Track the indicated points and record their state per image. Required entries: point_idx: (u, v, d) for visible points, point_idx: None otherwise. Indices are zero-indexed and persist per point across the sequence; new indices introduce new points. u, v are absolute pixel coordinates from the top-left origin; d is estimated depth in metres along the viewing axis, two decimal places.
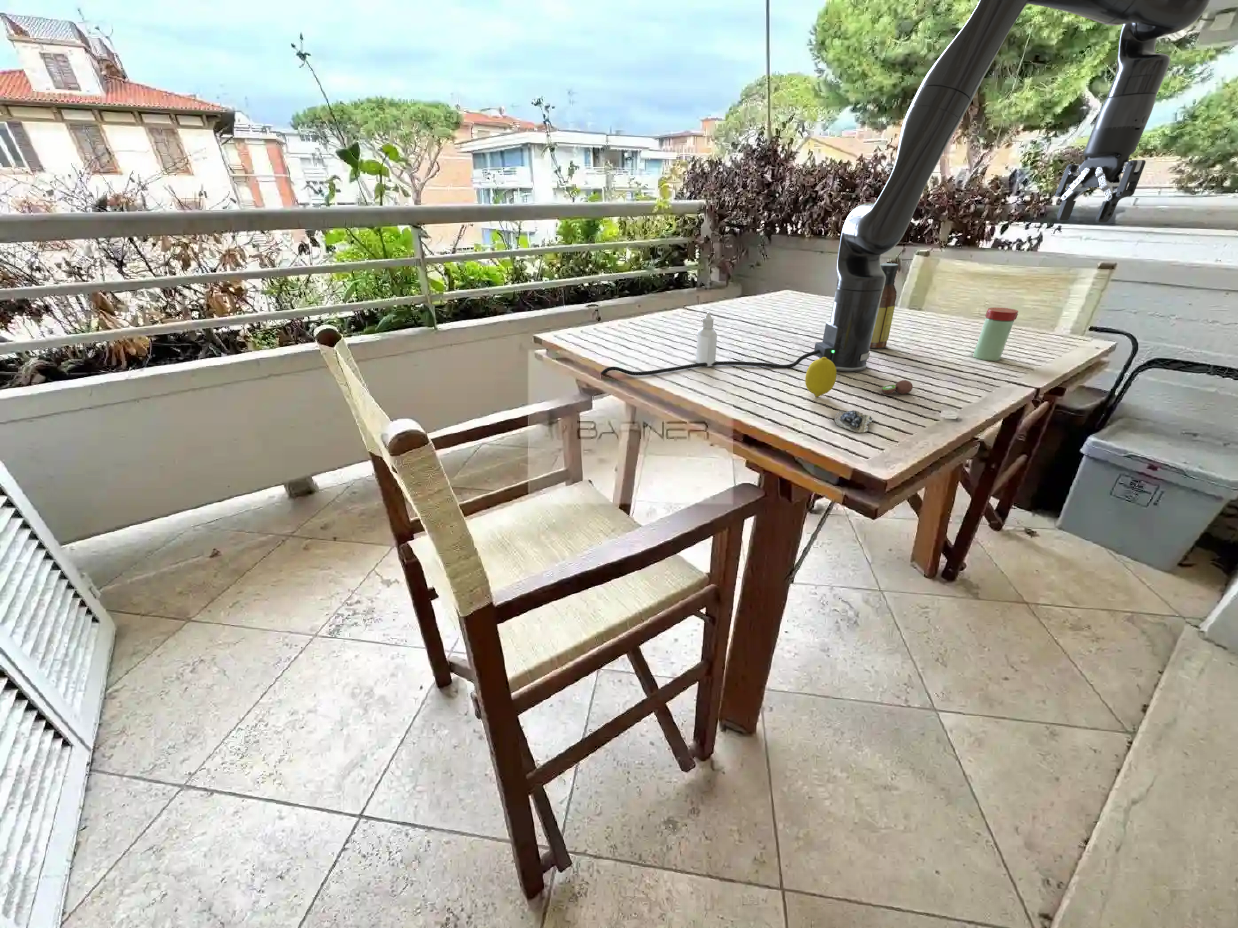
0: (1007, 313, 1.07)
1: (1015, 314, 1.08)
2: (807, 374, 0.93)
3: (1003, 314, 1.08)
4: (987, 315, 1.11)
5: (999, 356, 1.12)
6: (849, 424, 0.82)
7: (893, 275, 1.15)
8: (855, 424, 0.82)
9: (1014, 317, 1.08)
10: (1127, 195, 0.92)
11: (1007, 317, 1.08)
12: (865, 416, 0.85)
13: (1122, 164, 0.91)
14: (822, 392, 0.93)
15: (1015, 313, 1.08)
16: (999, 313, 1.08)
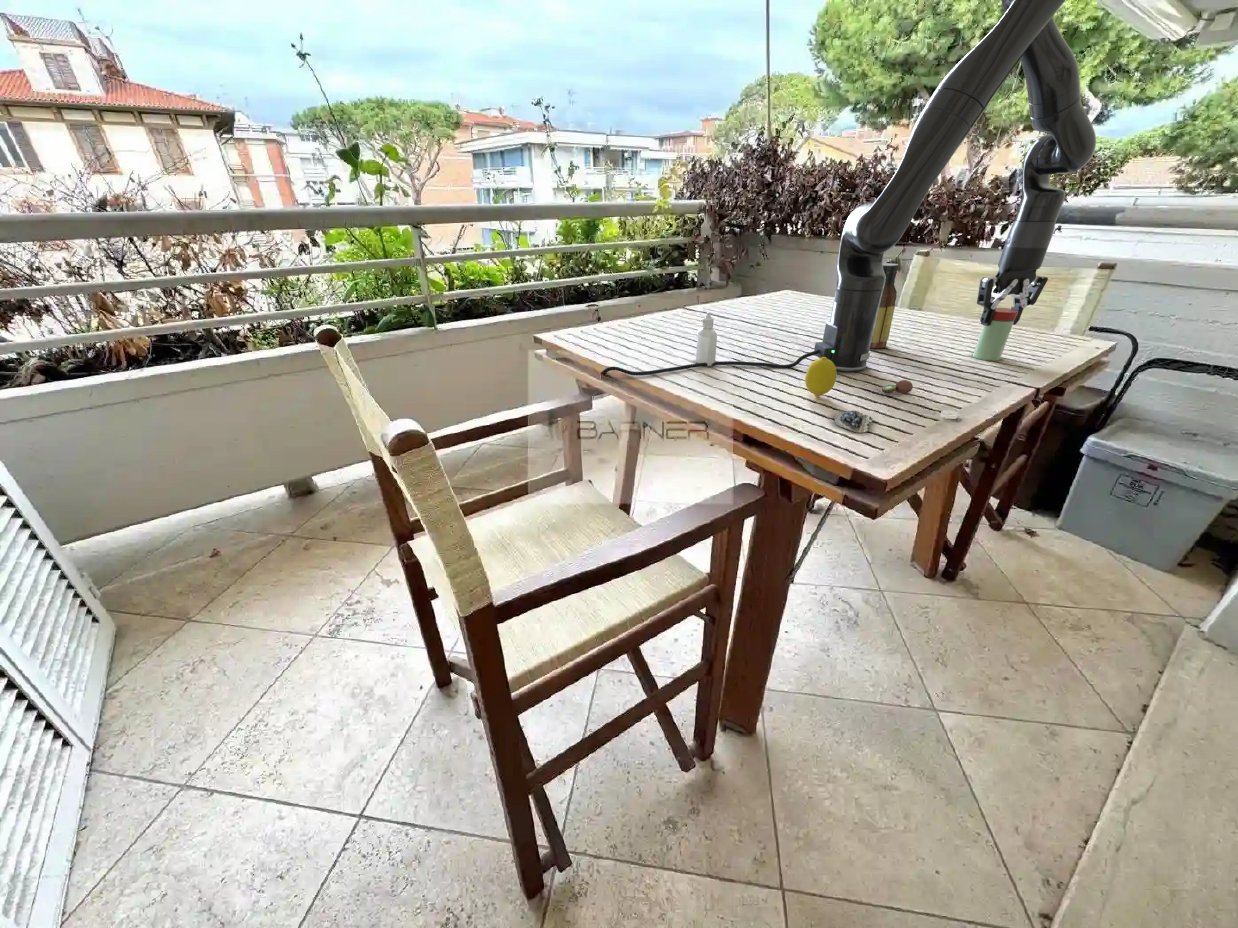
0: (1007, 313, 1.07)
1: (1015, 314, 1.08)
2: (807, 374, 0.93)
3: (1003, 314, 1.08)
4: None
5: (999, 356, 1.12)
6: (849, 424, 0.82)
7: (893, 275, 1.15)
8: (855, 424, 0.82)
9: (1014, 317, 1.08)
10: None
11: (1007, 317, 1.08)
12: (865, 416, 0.85)
13: (1035, 276, 1.06)
14: (822, 392, 0.93)
15: (1015, 313, 1.08)
16: (999, 313, 1.08)
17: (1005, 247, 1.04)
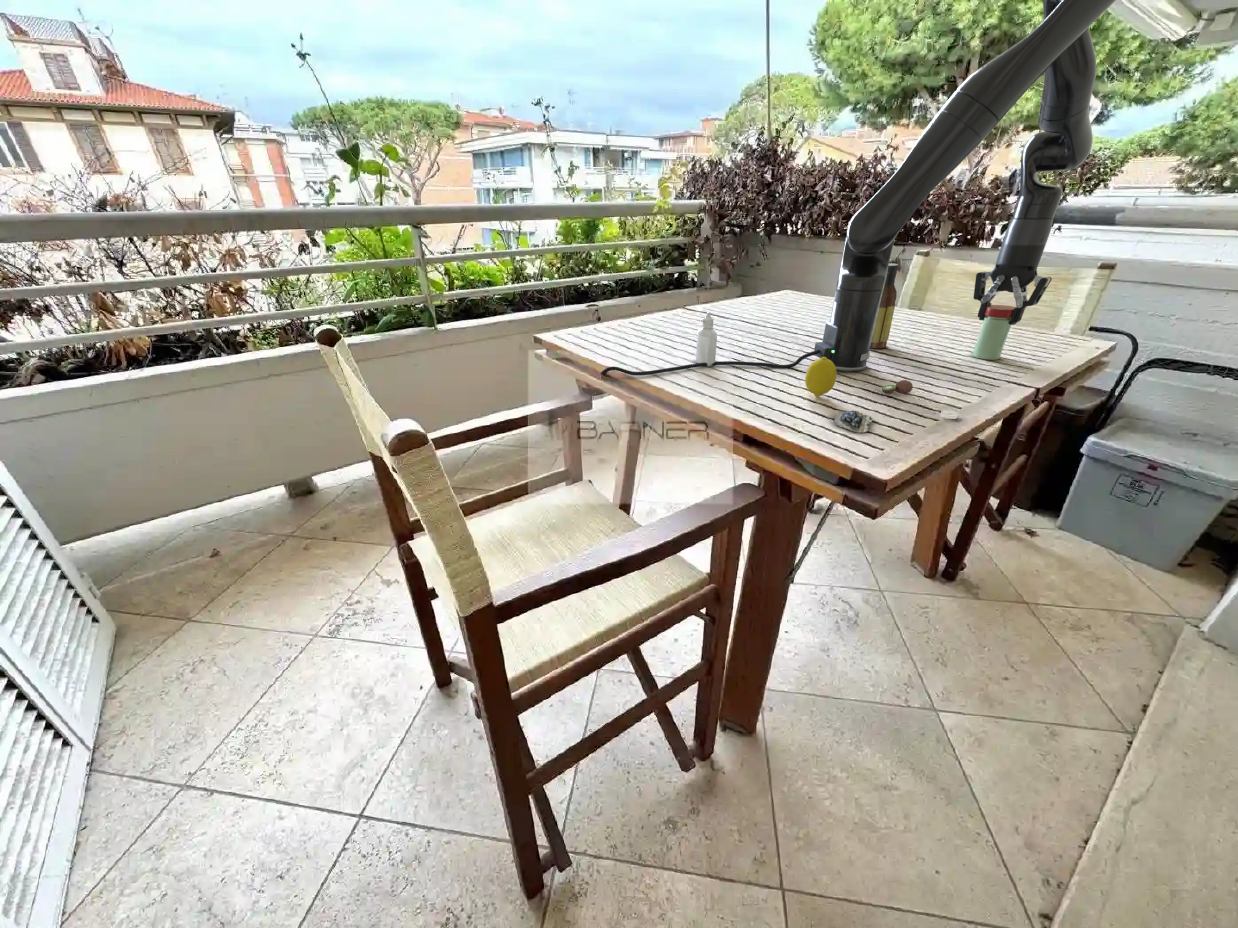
0: None
1: None
2: (807, 374, 0.93)
3: None
4: None
5: (999, 355, 1.13)
6: (849, 424, 0.82)
7: (893, 275, 1.15)
8: (855, 424, 0.82)
9: None
10: None
11: None
12: (865, 416, 0.85)
13: None
14: (822, 392, 0.93)
15: None
16: None
17: (1040, 246, 1.01)
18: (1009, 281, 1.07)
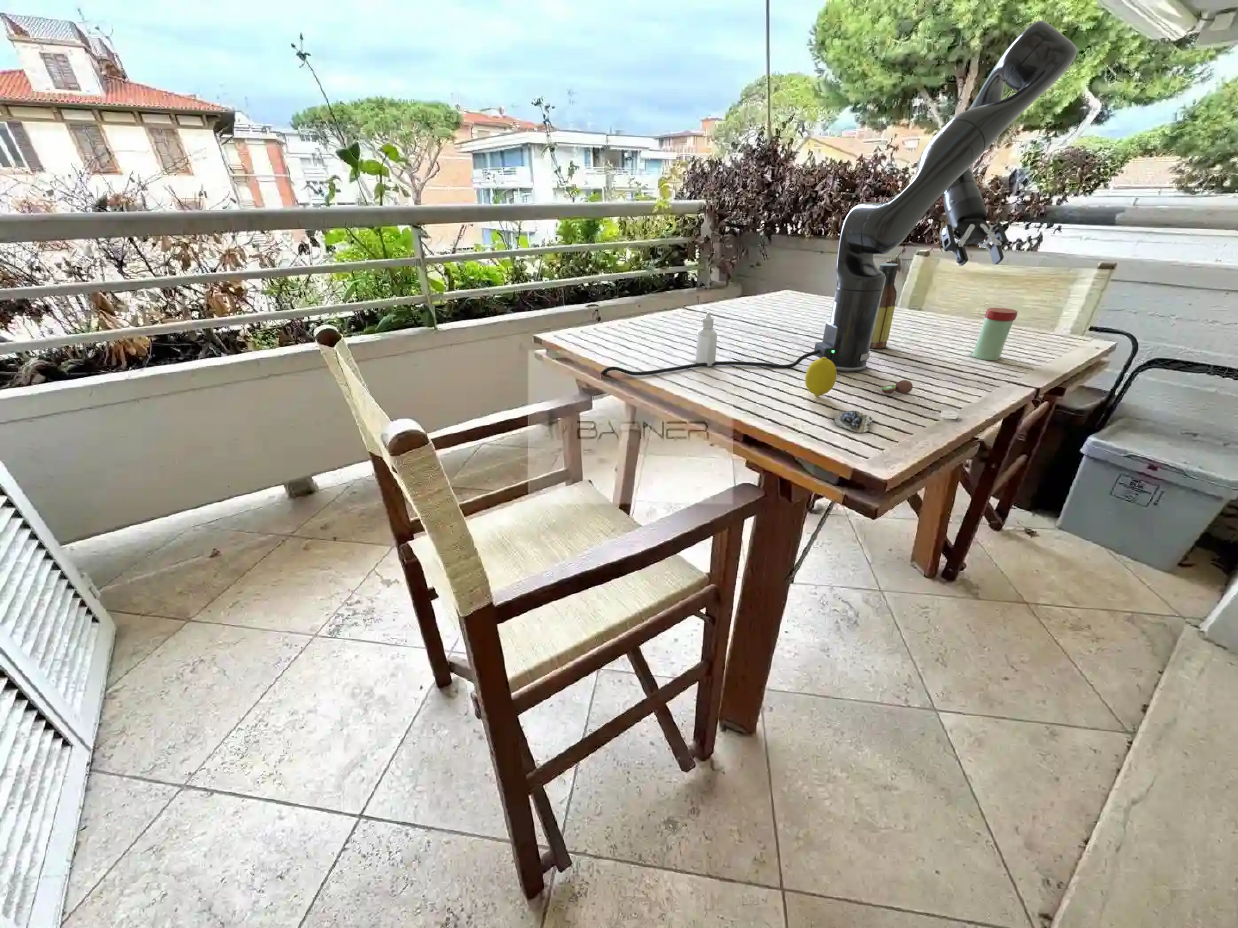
0: None
1: None
2: (807, 374, 0.93)
3: None
4: (1015, 317, 1.09)
5: (999, 355, 1.13)
6: (849, 424, 0.82)
7: (893, 275, 1.15)
8: (855, 424, 0.82)
9: None
10: (949, 246, 1.16)
11: None
12: (865, 416, 0.85)
13: None
14: (822, 392, 0.93)
15: None
16: None
17: None
18: (976, 230, 1.17)
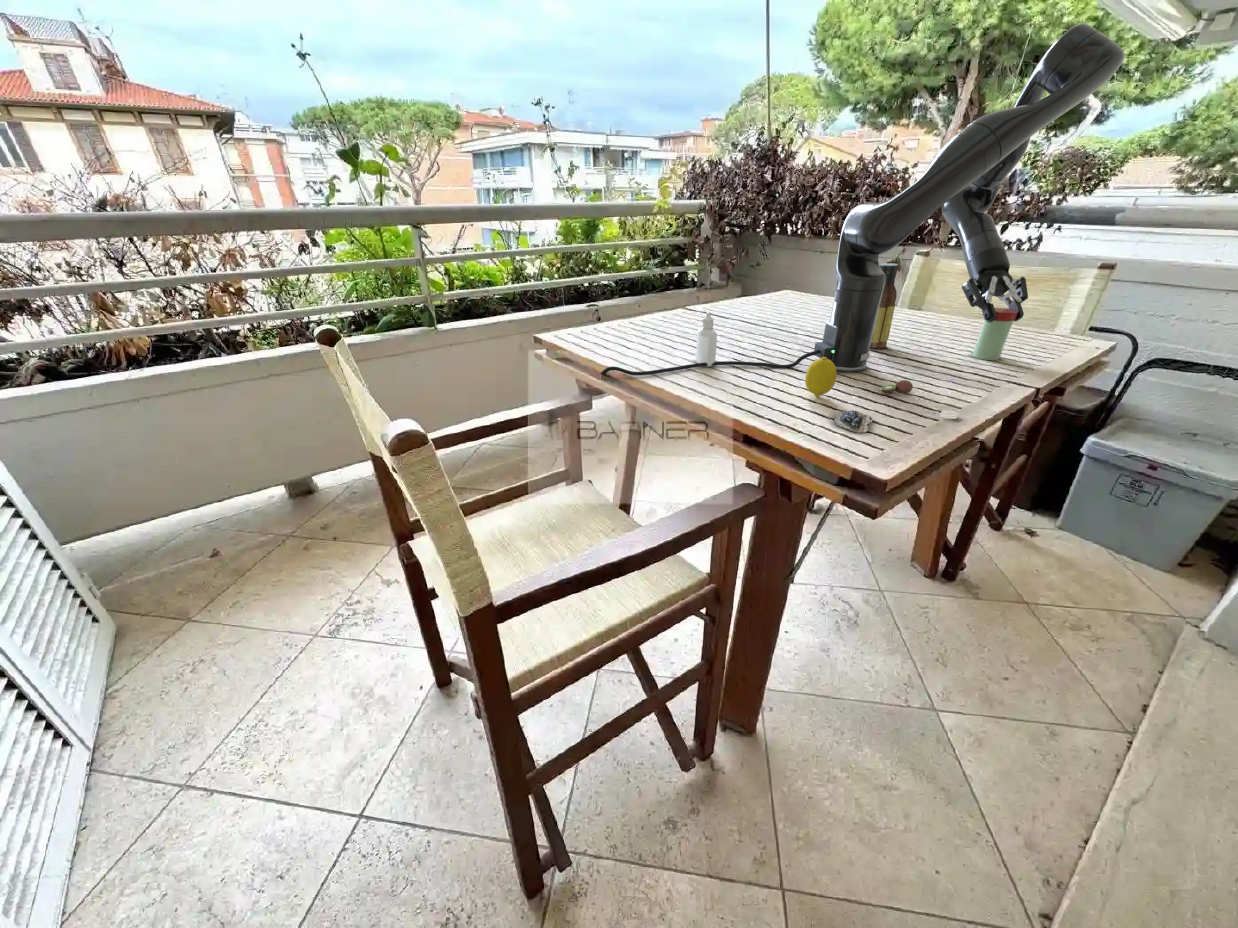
0: None
1: None
2: (807, 374, 0.93)
3: None
4: (1015, 317, 1.09)
5: (999, 355, 1.13)
6: (849, 424, 0.82)
7: (893, 275, 1.15)
8: (855, 424, 0.82)
9: None
10: (977, 302, 1.10)
11: None
12: (865, 416, 0.85)
13: None
14: (822, 392, 0.93)
15: None
16: None
17: None
18: (998, 282, 1.11)
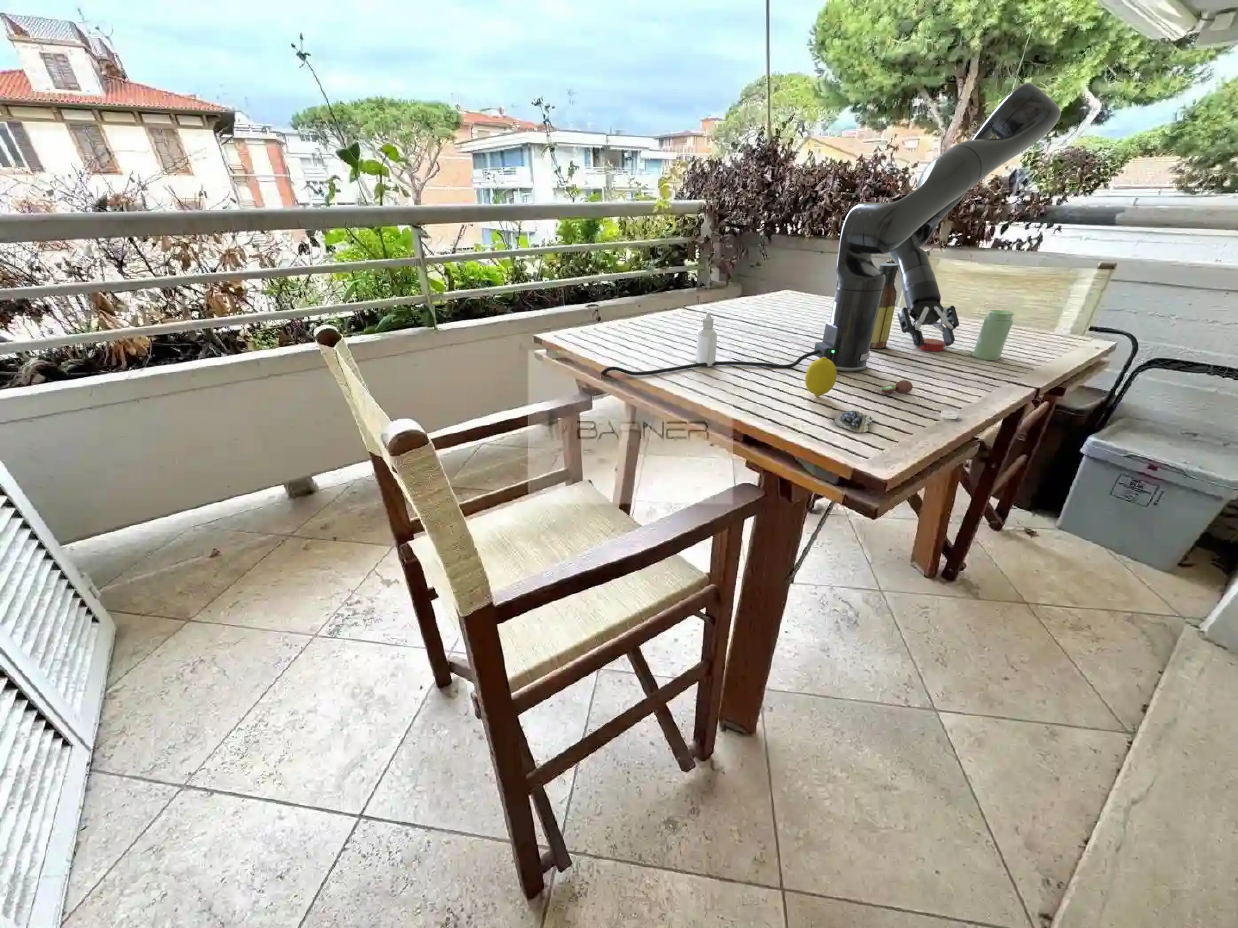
0: None
1: None
2: (807, 374, 0.93)
3: None
4: (943, 347, 1.21)
5: (999, 355, 1.13)
6: (849, 424, 0.82)
7: (893, 275, 1.15)
8: (855, 424, 0.82)
9: None
10: (907, 329, 1.21)
11: None
12: (865, 416, 0.85)
13: None
14: (822, 392, 0.93)
15: None
16: None
17: None
18: (930, 312, 1.22)
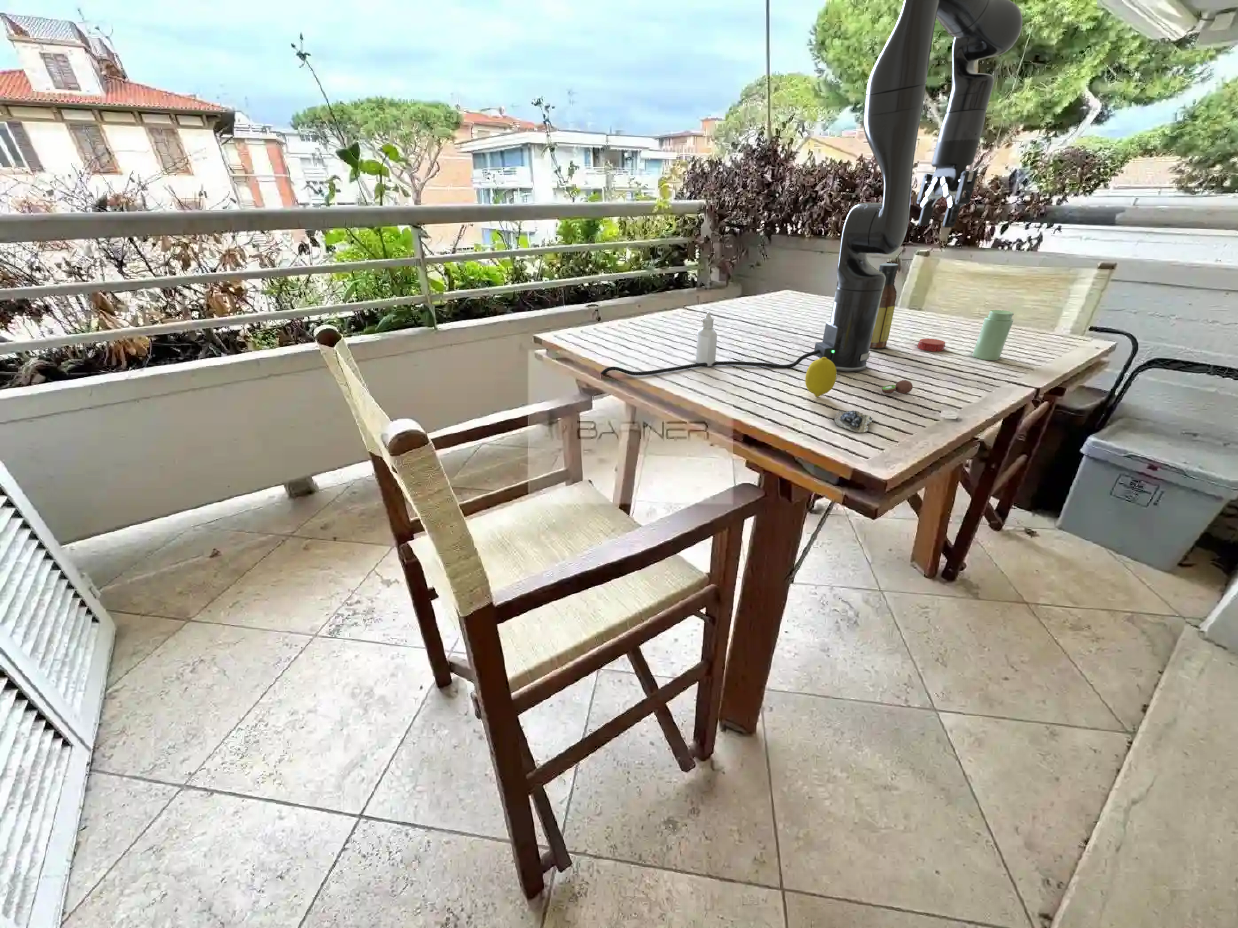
0: None
1: None
2: (807, 374, 0.93)
3: None
4: (943, 347, 1.21)
5: (999, 355, 1.13)
6: (849, 424, 0.82)
7: (893, 275, 1.15)
8: (855, 424, 0.82)
9: None
10: None
11: None
12: (865, 416, 0.85)
13: None
14: (822, 392, 0.93)
15: None
16: None
17: (963, 140, 0.97)
18: None
